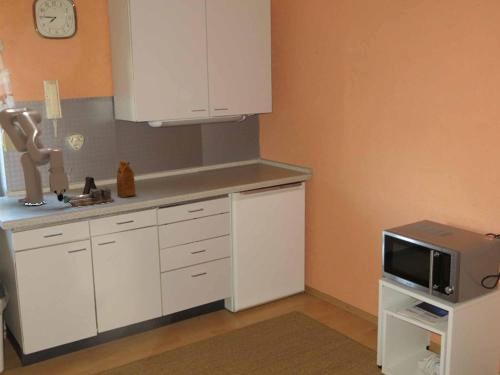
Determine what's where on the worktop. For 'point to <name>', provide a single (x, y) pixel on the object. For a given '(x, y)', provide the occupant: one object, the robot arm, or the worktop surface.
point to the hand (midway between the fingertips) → (60, 201)
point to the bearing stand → (95, 198)
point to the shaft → (77, 197)
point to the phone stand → (89, 185)
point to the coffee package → (125, 180)
